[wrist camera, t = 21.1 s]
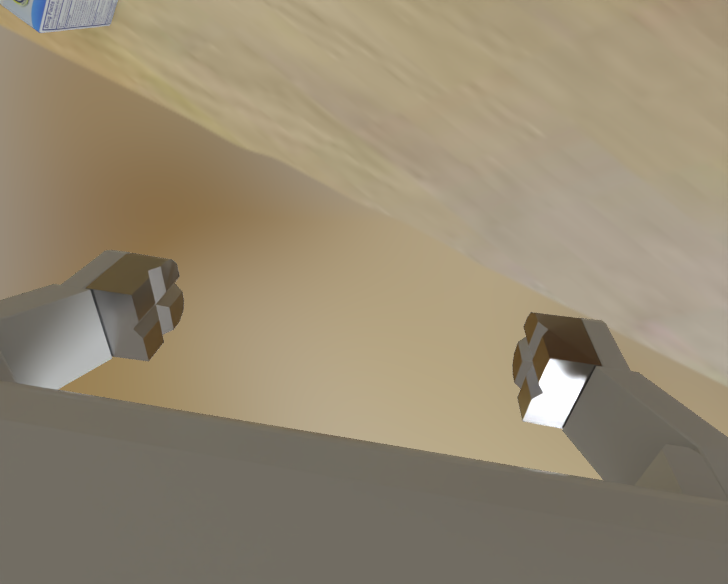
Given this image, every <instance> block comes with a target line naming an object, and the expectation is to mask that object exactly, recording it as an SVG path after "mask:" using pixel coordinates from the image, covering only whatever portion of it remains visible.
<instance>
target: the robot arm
mask: <svg viewBox="0 0 728 584" xmlns="http://www.w3.org/2000/svg"><path fill="white" fill-rule="evenodd" d="M178 277H179V272H178V267H177V264H176V263H175V262H174V261H173V260H172V259H166V258H160V257H153V256H148V255H142V254H136V253H129V252H123V251H115V250H107V251H104V252H103V253H102V254H100V255H99V256H98V257H96V258H95V259H94V260H93V261H91V262H90V263H89V264H87V265H86V266H85V267H83V268H82V269H81V270H79V271H78V272H77V273H75V274H74V275H73V276H72V277H70V278H69V279H68V280H66V281H65V282H64V283H62V284H61V285H57V284H52V285H49V286H46V287H42V288H39V289H36V290H32V291H29V292H26V293H22V294H19V295H16V296H12V297H10V298H6V299H3V300H0V584H728V437H727V436H725V435H724V434H723V433H721V432H720V431H718V430H717V429H716V428H714V427H713V426H712V425H710V424H709V423H707V422H706V421H705V420H703V419H702V418H701V417H699V416H698V415H696V414H695V413H694V412H692V411H691V410H689V409H688V408H687V407H685V406H684V405H683V404H681V403H680V402H678V401H677V400H676V399H674V398H673V397H672V396H670V395H669V394H667V393H666V392H665V391H663V390H662V389H661V388H659V387H658V386H657V385H655V384H654V383H652V382H651V381H650V380H648V379H647V378H645V377H644V376H643V375H641V374H640V373H638V372H633V371H630V369H629V367H628V365H627V363H626V361H625V359H624V357H623V355H622V353H621V352H620V350H619V348H618V346H617V344H616V342H615V340H614V338H613V336H612V335H611V333H610V331H609V329H608V327H607V325H606V323H604V322H603V321H601V320H593V319H584V318H573V317H565V316H557V315H549V314H541V313H533V312H531V313H530V314H529V316H528V317H527V319H526V322H525V324H524V330H525V334H526V337H525V338H523V339H522V340H520V341H519V342H518V344H517V347H516V350H515V353H514V358H513V378H514V382H515V384H516V385H518V386H519V387H520V389H521V390H520V392H519V395H518V403H519V407H520V412H521V416H522V421H524V422H530V423H535V424H540V425H546V426H551V427H556V428H562V429H563V432H564V433H565V434H566V435H567V437H568V438H569V439H570V440H571V441H572V442H573V444H574V445H575V446H576V447H577V449H578V450H579V451H580V452H581V453H582V455H583V456H584V457H585V458H586V459H587V461H588V462H589V463H590V464H591V466H592V467H593V468H594V469H595V470H596V472H597V473H598V474H599V475H600V476H601V478H602V479H603V480H604V481H603V480H597V479H591V478H585V477H579V476H573V475H567V474H561V473H555V472H548V471H542V470H536V469H530V468H524V467H518V466H512V465H506V464H500V463H494V462H488V461H482V460H476V459H470V458H464V457H458V456H452V455H447V454H440V453H435V452H429V451H423V450H417V449H411V448H404V447H399V446H393V445H387V444H381V443H375V442H369V441H363V440H357V439H351V438H345V437H339V436H333V435H327V434H321V433H315V432H308V431H303V430H296V429H290V428H284V427H279V426H273V425H267V424H261V423H255V422H248V421H242V420H236V419H230V418H224V417H218V416H212V415H206V414H200V413H194V412H188V411H182V410H176V409H170V408H164V407H158V406H152V405H146V404H139V403H134V402H128V401H122V400H116V399H110V398H104V397H98V396H92V395H86V394H80V393H74V392H68V391H62V390H58V389H59V388H61V387H63V386H64V385H66V384H68V383H70V382H71V381H73V380H75V379H77V378H78V377H80V376H82V375H84V374H85V373H87V372H89V371H91V370H92V369H94V368H96V367H98V366H99V365H101V364H103V363H105V362H106V361H108V360H110V359H112V356H113V357H120V358H128V359H136V360H143V361H149V360H150V359H151V358H152V356H153V355H154V354H155V353H156V351H157V350H158V349H159V348H160V346H161V345H162V344H163V343H164V340H163V334H165V333H167V332H169V331H171V330H174V328H175V327H176V326H177V324H178V323H179V321H180V319H181V316H182V313H183V309H184V298H183V292H182V291H181V290H180V289H179V287H178V286H177V285H176V284H175V282H176V280H177V279H178Z"/></svg>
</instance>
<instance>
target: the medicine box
mask: <svg viewBox="0 0 728 584" xmlns="http://www.w3.org/2000/svg"><path fill="white" fill-rule="evenodd" d="M117 1H118V0H0V4H1V5H2V6H4V7H5V8H6V9H8V10H9V11H10V12H12V13H13V14H14V15H16V16H17V17H19V18H20V19H21V20H23V21H24V22H26V23H27V24H28V25H30V26H31V27H32V28H34V29H35V30H36V31H38V32H39V33H45V32H55V31H64V30H73V29H82V28H92V27H101V26H109V25H110V24H111V21H112V18H113V14H114V11H115V8H116V5H117Z"/></svg>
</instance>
